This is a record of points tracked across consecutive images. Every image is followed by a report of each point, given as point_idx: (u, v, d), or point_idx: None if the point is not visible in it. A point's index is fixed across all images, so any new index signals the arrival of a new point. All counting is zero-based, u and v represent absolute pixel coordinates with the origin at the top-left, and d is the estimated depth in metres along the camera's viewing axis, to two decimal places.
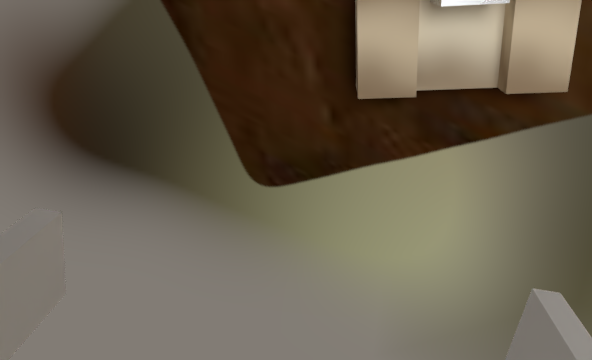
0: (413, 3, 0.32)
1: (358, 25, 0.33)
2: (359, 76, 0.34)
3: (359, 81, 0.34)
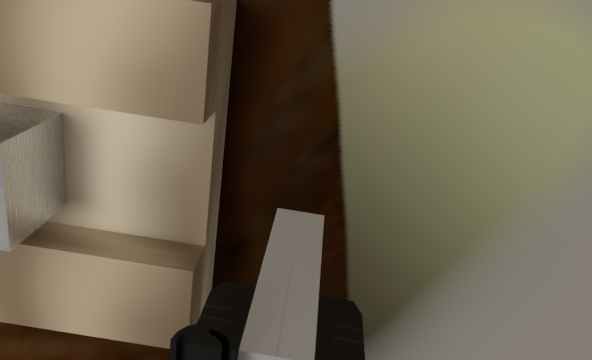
0: (39, 255, 0.20)
1: (72, 331, 0.21)
2: (151, 343, 0.21)
3: (159, 344, 0.21)
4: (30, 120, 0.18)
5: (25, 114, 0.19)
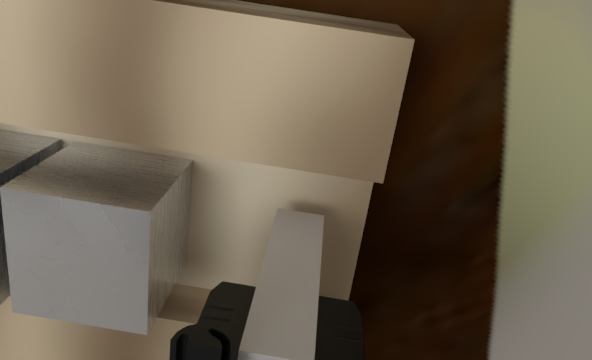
0: (163, 327, 0.17)
1: None
2: None
3: None
4: (165, 173, 0.15)
5: (155, 164, 0.16)
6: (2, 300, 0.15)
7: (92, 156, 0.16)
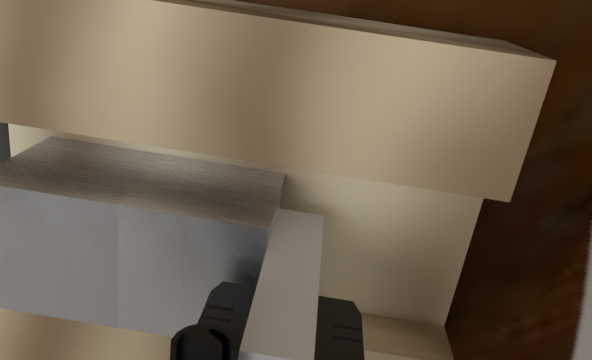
0: None
1: None
2: None
3: None
4: (265, 188, 0.15)
5: (252, 179, 0.16)
6: None
7: (189, 171, 0.16)
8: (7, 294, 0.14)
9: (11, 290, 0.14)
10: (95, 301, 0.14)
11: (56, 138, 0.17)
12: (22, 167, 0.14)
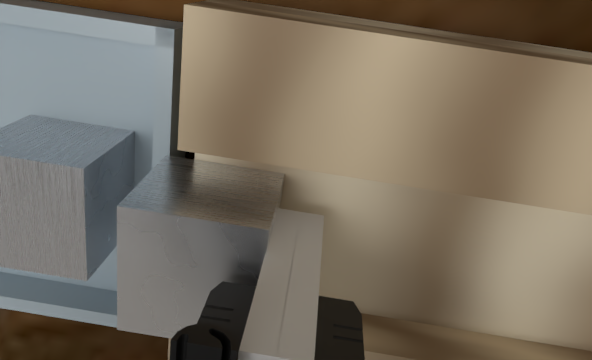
0: None
1: None
2: None
3: None
4: (265, 189, 0.15)
5: (252, 179, 0.16)
6: None
7: (188, 171, 0.16)
8: None
9: None
10: None
11: (130, 132, 0.18)
12: (54, 124, 0.18)
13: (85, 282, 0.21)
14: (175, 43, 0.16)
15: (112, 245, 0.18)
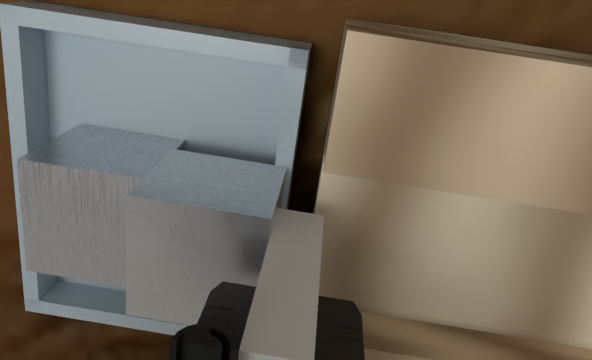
0: None
1: None
2: None
3: None
4: (268, 181, 0.16)
5: (255, 172, 0.16)
6: (35, 269, 0.17)
7: (195, 164, 0.16)
8: None
9: None
10: None
11: (181, 141, 0.18)
12: (106, 133, 0.18)
13: None
14: (307, 64, 0.16)
15: None
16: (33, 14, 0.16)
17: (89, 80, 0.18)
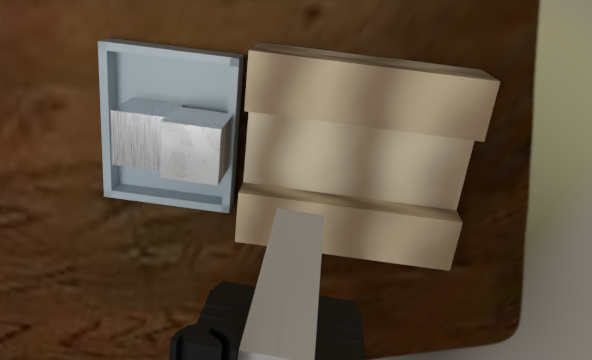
0: (374, 215, 0.35)
1: (383, 260, 0.37)
2: (428, 266, 0.37)
3: (433, 267, 0.37)
4: (223, 118, 0.35)
5: (217, 115, 0.35)
6: (116, 164, 0.36)
7: (189, 112, 0.35)
8: None
9: None
10: None
11: (182, 104, 0.37)
12: (146, 101, 0.37)
13: (185, 190, 0.40)
14: (239, 64, 0.35)
15: None
16: (113, 45, 0.35)
17: (137, 75, 0.37)
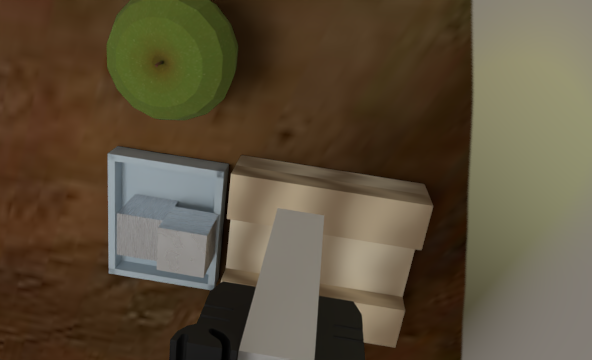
0: None
1: None
2: (377, 343, 0.44)
3: (381, 344, 0.44)
4: (209, 220, 0.42)
5: (205, 216, 0.43)
6: (120, 254, 0.43)
7: (182, 213, 0.43)
8: None
9: None
10: None
11: (176, 201, 0.45)
12: (146, 199, 0.44)
13: None
14: (224, 176, 0.42)
15: None
16: (120, 157, 0.42)
17: (139, 177, 0.44)
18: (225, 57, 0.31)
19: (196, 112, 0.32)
